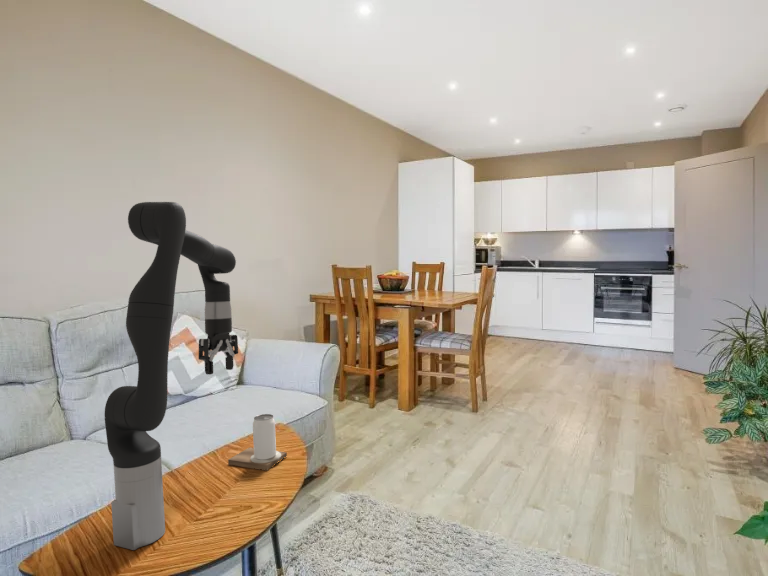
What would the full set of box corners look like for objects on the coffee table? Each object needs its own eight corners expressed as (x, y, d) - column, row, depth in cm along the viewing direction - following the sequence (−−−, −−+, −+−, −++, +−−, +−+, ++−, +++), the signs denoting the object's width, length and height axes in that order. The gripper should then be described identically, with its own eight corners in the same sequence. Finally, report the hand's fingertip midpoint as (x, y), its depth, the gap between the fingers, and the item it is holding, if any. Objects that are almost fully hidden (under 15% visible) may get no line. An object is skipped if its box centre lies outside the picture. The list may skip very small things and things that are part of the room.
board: (268, 470, 134) (268, 464, 134) (228, 464, 140) (228, 458, 140) (288, 457, 144) (287, 451, 144) (249, 451, 149) (249, 446, 149)
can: (267, 461, 136) (265, 421, 136) (249, 458, 139) (247, 419, 138) (280, 453, 142) (279, 414, 142) (263, 450, 145) (262, 412, 144)
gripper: (211, 318, 130) (212, 376, 130) (244, 315, 144) (245, 368, 143) (190, 318, 133) (192, 375, 133) (224, 316, 146) (225, 367, 146)
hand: (219, 371), depth 138 cm, fingers open, 8 cm apart
